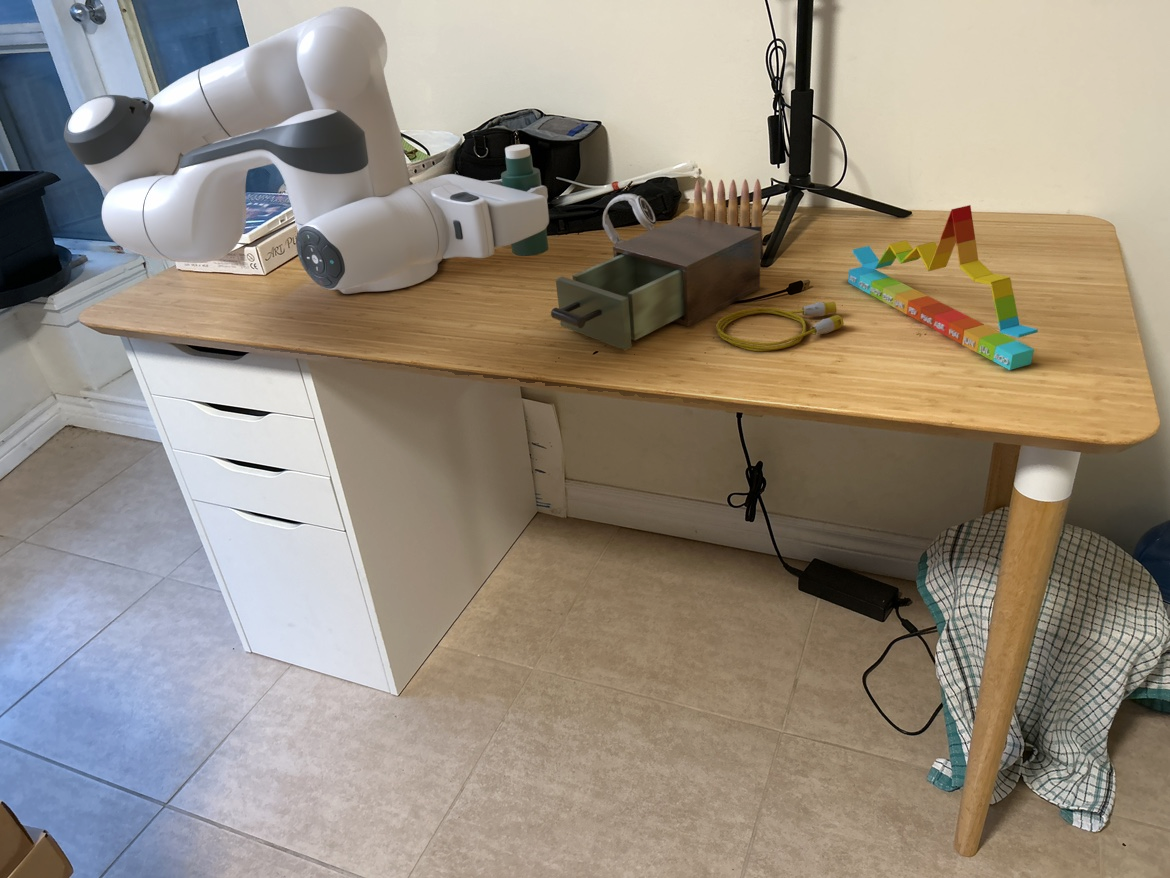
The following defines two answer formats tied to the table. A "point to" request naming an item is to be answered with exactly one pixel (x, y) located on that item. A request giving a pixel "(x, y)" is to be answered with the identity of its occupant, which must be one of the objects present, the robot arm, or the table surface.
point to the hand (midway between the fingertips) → (528, 188)
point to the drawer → (620, 299)
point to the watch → (640, 211)
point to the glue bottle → (521, 178)
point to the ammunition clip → (731, 206)
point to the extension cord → (810, 310)
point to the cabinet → (702, 261)
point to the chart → (940, 314)
